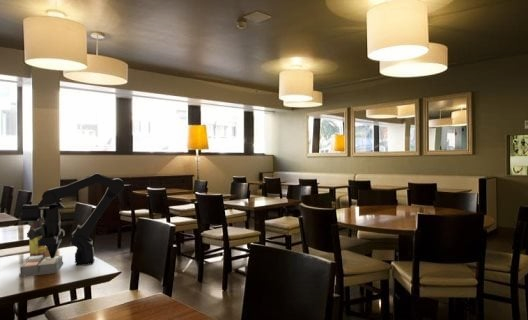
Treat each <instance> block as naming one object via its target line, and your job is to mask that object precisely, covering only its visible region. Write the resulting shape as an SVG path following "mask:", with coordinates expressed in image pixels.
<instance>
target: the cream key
mask: <svg viewBox="0 0 528 320" xmlns="http://www.w3.org/2000/svg"><path fill="white" fill-rule="evenodd" d="M56 262H57V258H47V259H44V260H43V261H42V262H41V265H46V264H55V263H56Z"/></svg>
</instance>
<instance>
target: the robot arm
mask: <svg viewBox="0 0 528 320" xmlns="http://www.w3.org/2000/svg"><path fill="white" fill-rule="evenodd" d="M95 184H98V185H101V186H105V187H107V188H106V191H105V192H104V195H103V196H102V198H101V199H100V201H99V202H98V204H97V205H96V206H95V208H94V209H93V211H92V212H91V214H90V215H89V216H88V218H87V220H86V221H85V222H84V223H83V224H82V225H80V224H77V227H76V229H75V230H74V231H73V232H71V236H72V237H71V244H72V245H73V246H74V247H76V251H75V253H74V259H75V261H74V263H75V266H84V265H93V264H94V263H95V252H94V251H95V248H94V246H93V243H94V241H93V239H91V238H90V235H91V233H92V230H93V229H94V227H95V226H96V224H97V222H98V221H99V220H100V218H101V216H103V214H104V212H105V211H106V209H107V208H108V207H109V206H110V204H111V203H112V201H113V200H114V199H115V198H116V197H117V196H118V195H119V194H120V193H121V192H122V191H123V190H124V188H125V183H124V181H123V180H122V179H121V178H119V177H116V178H111V177H110V176H109V177H108V176H106V175H103V174H101V173H99V172H95V173H94V174H92V175H89V176H86V177H84V178H82V179H80V180H77V181H74V182H71V183H69V184H65V185H62V186H57V187H52V188H49V189H47V190H46V191H45V190H44V192H43V193H42V196H41V200H40V201H39V202H37V204H23V205H21V211H20V212H21V213H20V221H21V223H29V222H32V221H39V218H42V219H43V224H42V227H39V228H37V229H34V228H33V229H31V230H30V229H29V230H28V231H27V233H26V238H28V240H29V239H30V240H33V239H34V238H36V237H39V236H42V238H41V239H40V240H39V241H38V246H46V248H47V251H48V253H49V255H50V256H49V257H51V258H54V257H55V256H57V255H56V254H57V252H58V250H59V247H60V244H61V243H62V238H59V236H61V237H64V236H65V235H66V233H65V230H64V229H63V228H61V223H62V221H61V220H60V209H61V210H62V209H65V208H66V207H65V206H66V205H64V204H63V203H62V202H61V201H60V200H62V199H63V198H65V197H66V196H68V195H70V194H73V193H75V192H79V191H80V190H83V189H85V188H87V187H90V186H93V185H95ZM58 201H59V202H58ZM57 202H58V204H56V203H57ZM47 205H49V206H48V207H46V206H47ZM42 212H43V215H42Z"/></svg>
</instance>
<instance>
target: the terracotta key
mask: <svg viewBox="0 0 528 320" xmlns="http://www.w3.org/2000/svg"><path fill="white" fill-rule="evenodd" d="M39 263H40V262H30V263H26V264H25V265H24V266H23V267H25V266H35V265H38V264H39Z"/></svg>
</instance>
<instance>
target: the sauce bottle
mask: <svg viewBox="0 0 528 320" xmlns="http://www.w3.org/2000/svg"><path fill="white" fill-rule="evenodd" d="M42 216H43V211H42ZM31 222H32V223H31V225H30V226H29V230H31V229H33V228H34V229H37V228H39V227H42V224H43V223H44V221H43V217H42V218H39V221H31ZM41 238H42V236H39V237H36V238H34V239H33V240H30V239H29V238H28V240H29V246H28V247H29V248H28V249H29V258H30V257H31V256H40V255H43V257H44V256H45V255H46V248H47V246H38V241H39V240H40V239H41Z"/></svg>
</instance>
